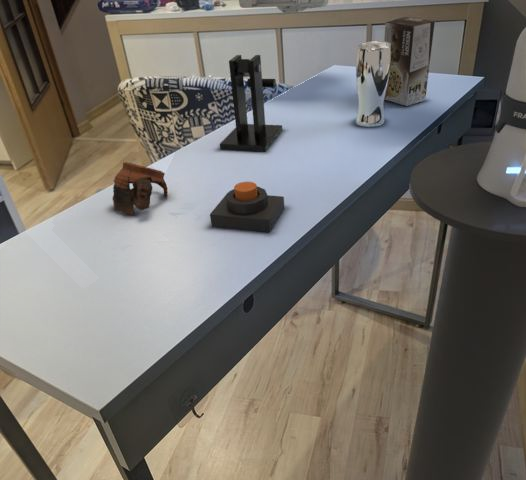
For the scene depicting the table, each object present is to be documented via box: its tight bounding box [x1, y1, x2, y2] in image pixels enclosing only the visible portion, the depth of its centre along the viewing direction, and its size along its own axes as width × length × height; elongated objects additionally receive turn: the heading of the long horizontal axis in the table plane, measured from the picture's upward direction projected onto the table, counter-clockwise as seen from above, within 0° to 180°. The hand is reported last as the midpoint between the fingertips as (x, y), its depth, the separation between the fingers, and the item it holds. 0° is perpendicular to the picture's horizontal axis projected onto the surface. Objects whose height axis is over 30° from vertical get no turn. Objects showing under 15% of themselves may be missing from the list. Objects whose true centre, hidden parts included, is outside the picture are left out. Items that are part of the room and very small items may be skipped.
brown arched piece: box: [112, 161, 169, 216], centre depth 90 cm, size 12×10×8 cm
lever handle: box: [238, 58, 277, 89], centre depth 106 cm, size 12×6×2 cm
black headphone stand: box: [219, 54, 283, 153], centre depth 106 cm, size 12×10×16 cm
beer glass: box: [355, 40, 391, 128], centre depth 109 cm, size 7×7×15 cm
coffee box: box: [383, 16, 436, 107], centre depth 118 cm, size 9×6×16 cm
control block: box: [209, 185, 285, 233], centre depth 84 cm, size 10×8×4 cm
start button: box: [233, 181, 258, 201], centre depth 83 cm, size 4×4×2 cm
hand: (273, 1), depth 111 cm, fingers open, 8 cm apart
